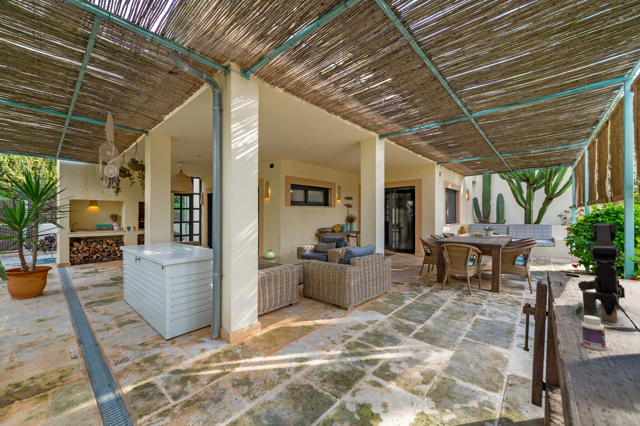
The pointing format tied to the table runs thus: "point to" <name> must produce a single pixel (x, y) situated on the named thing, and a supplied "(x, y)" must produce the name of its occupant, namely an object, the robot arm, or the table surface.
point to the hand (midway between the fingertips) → (609, 314)
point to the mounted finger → (589, 301)
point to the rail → (586, 311)
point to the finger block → (607, 317)
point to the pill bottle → (593, 333)
